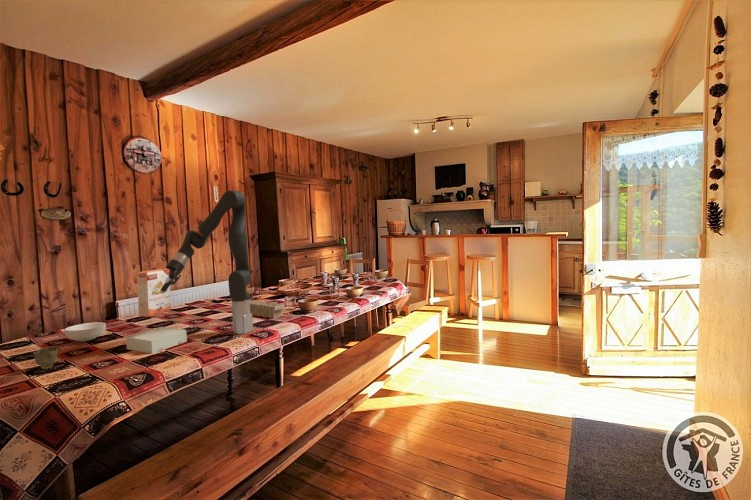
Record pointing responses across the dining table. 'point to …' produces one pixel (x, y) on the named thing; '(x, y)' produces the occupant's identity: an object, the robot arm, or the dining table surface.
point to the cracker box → (153, 292)
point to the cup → (46, 357)
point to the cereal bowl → (85, 331)
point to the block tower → (266, 309)
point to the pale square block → (156, 339)
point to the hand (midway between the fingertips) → (157, 290)
